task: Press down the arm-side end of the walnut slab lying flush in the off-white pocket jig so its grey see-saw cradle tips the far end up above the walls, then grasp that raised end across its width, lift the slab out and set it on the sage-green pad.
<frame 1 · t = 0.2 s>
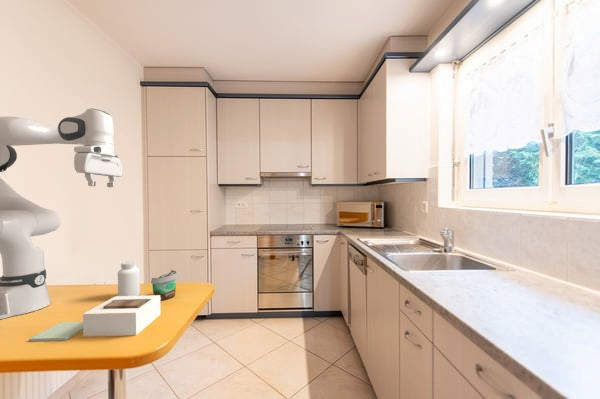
hand: (101, 186, 99), 47 cm above the table, fingers open, 8 cm apart
food container: (168, 298, 108), on the table
cradle: (125, 311, 85), point 4 cm above the table, hinge at 0.0°, touching walnut slab
pocket jig: (125, 324, 85), on the table
sage pad: (63, 332, 81), on the table
pill bottle: (129, 297, 110), on the table
walnut slab: (125, 311, 85), point 4 cm above the table, touching cradle
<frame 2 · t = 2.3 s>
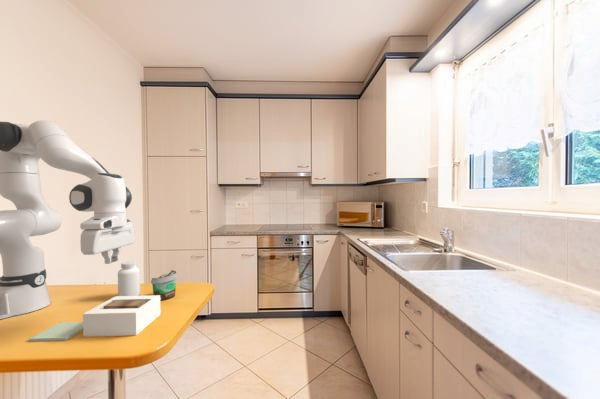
hand: (111, 262, 85), 21 cm above the table, fingers closed
nothing on the table moved.
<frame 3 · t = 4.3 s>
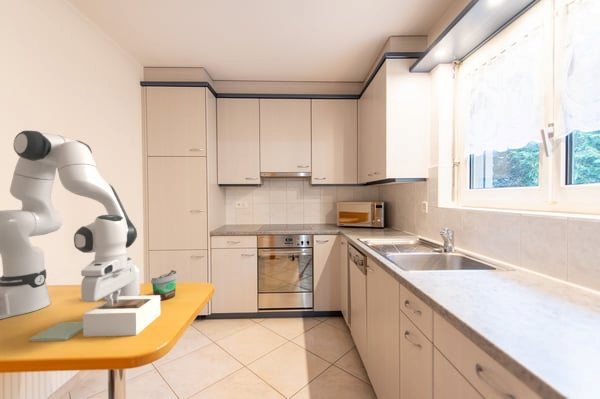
hand: (112, 304, 85), 7 cm above the table, fingers closed, pressing on walnut slab
cradle: (124, 311, 85), point 4 cm above the table, hinge at -4.2°, touching walnut slab
walnut slab: (124, 311, 85), point 4 cm above the table, touching cradle, gripper
everything else where it was.
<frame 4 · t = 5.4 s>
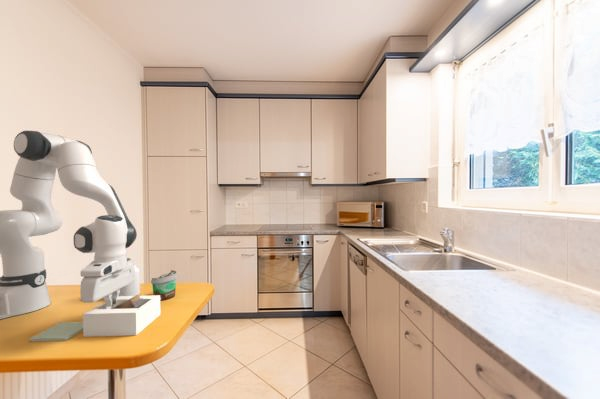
hand: (111, 304, 85), 7 cm above the table, fingers closed
cradle: (124, 311, 85), point 4 cm above the table, hinge at -27.2°, touching walnut slab
walnut slab: (123, 311, 85), point 4 cm above the table, tilted 27°, touching cradle
everything else where it was.
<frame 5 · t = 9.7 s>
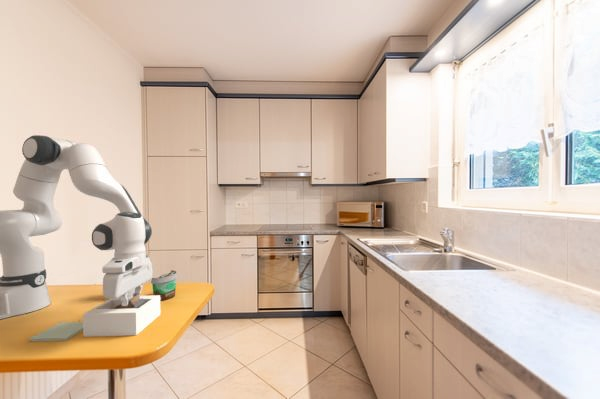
hand: (131, 301, 85), 8 cm above the table, fingers closed on walnut slab, 4 cm apart
walnut slab: (123, 311, 85), point 4 cm above the table, tilted 27°, touching cradle, gripper
everything else where it was.
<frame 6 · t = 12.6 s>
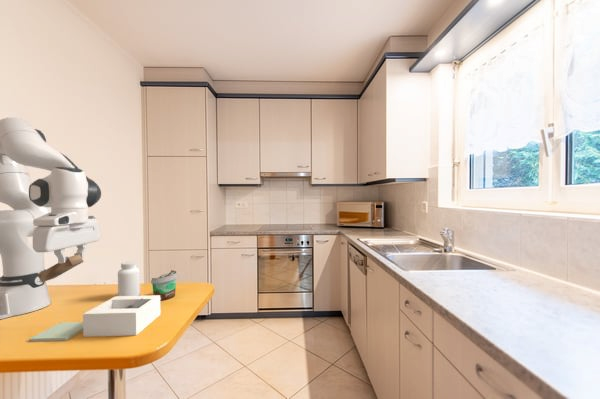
hand: (71, 260, 81), 23 cm above the table, fingers closed on walnut slab, 4 cm apart
cradle: (124, 311, 85), point 4 cm above the table, hinge at -27.2°
walnut slab: (63, 271, 81), point 19 cm above the table, tilted 29°, touching gripper
everything else where it was.
when the fingers open (9 cm above the table, at t = 15.6 s): walnut slab drops 4 cm, resting on sage pad.
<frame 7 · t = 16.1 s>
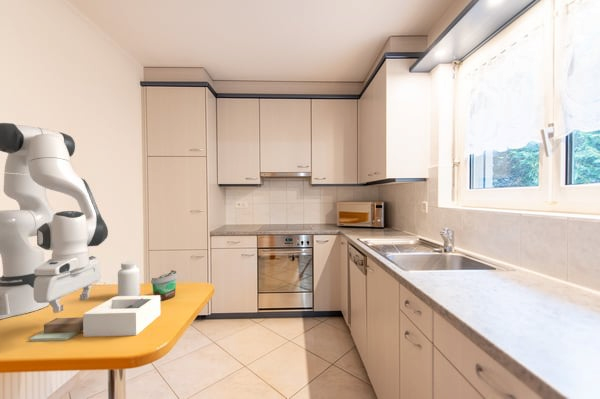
hand: (72, 305, 81), 9 cm above the table, fingers open, 8 cm apart
walnut slab: (68, 329, 81), point 1 cm above the table, touching sage pad
everything else where it was.
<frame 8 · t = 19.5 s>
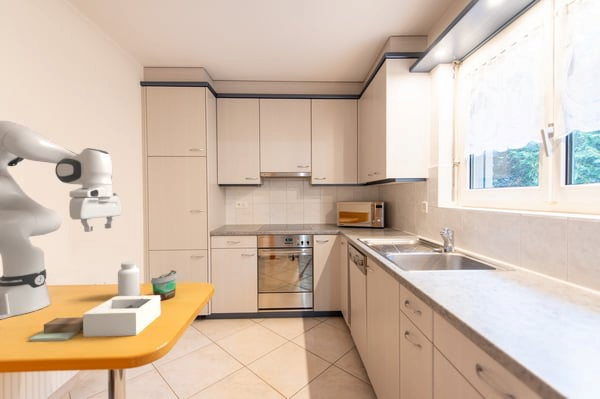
hand: (99, 229, 94), 31 cm above the table, fingers open, 8 cm apart
nothing on the table moved.
at the end: walnut slab inside the target area (0.9 cm from its centre), point 0.8 cm above the table; walnut slab moved 16.5 cm from its start; the gripper is holding nothing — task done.
